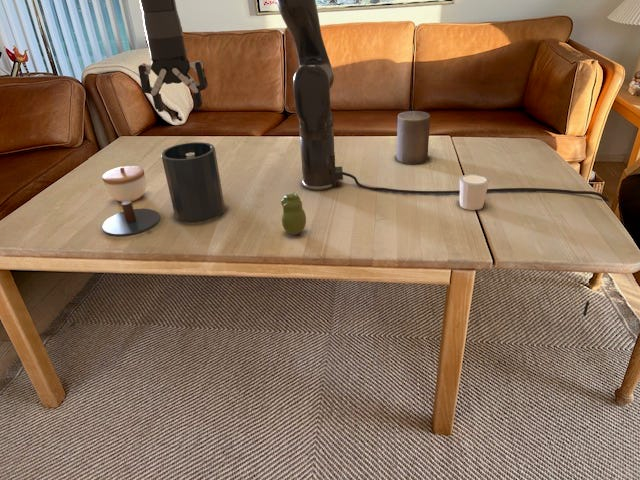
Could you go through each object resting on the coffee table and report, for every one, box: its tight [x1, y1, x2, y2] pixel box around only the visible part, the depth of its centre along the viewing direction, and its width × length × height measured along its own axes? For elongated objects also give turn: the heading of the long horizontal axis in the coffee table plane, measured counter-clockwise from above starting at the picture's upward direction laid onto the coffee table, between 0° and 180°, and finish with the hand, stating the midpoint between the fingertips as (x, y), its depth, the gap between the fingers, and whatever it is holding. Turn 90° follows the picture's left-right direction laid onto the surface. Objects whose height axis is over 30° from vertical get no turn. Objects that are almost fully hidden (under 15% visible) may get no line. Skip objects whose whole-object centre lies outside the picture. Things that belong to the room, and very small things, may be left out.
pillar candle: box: [396, 110, 431, 165], centre depth 145 cm, size 10×10×15 cm
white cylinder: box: [459, 173, 490, 211], centre depth 118 cm, size 7×7×7 cm
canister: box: [160, 141, 226, 224], centre depth 119 cm, size 13×13×17 cm
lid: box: [101, 201, 161, 237], centre depth 118 cm, size 14×14×6 cm
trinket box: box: [101, 165, 147, 203], centre depth 131 cm, size 11×11×9 cm
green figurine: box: [280, 192, 307, 235], centre depth 109 cm, size 6×5×10 cm
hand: (179, 110), depth 110 cm, fingers open, 8 cm apart
